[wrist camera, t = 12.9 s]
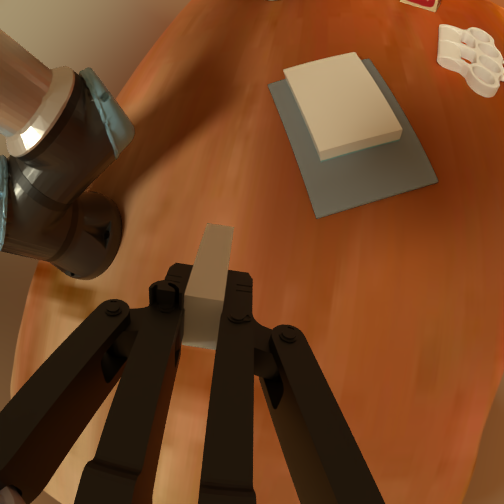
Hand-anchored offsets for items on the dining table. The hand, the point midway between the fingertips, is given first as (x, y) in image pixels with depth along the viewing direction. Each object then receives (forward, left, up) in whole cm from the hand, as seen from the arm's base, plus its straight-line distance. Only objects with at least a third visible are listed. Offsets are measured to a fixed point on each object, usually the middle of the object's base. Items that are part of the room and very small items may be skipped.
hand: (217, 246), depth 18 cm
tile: (-7, +20, -21) cm, 29 cm away
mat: (-11, +22, -23) cm, 33 cm away
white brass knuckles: (-6, +53, -23) cm, 58 cm away
